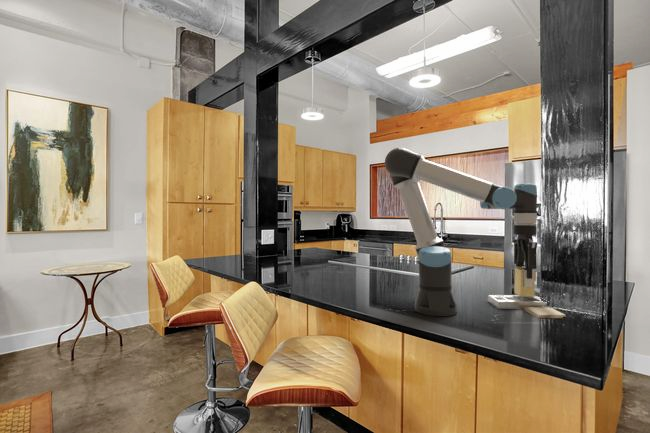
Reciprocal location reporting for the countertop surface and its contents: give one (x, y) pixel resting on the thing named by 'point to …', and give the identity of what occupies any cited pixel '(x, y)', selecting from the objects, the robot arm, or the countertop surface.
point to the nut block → (519, 284)
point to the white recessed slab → (515, 301)
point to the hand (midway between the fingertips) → (524, 285)
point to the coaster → (544, 312)
